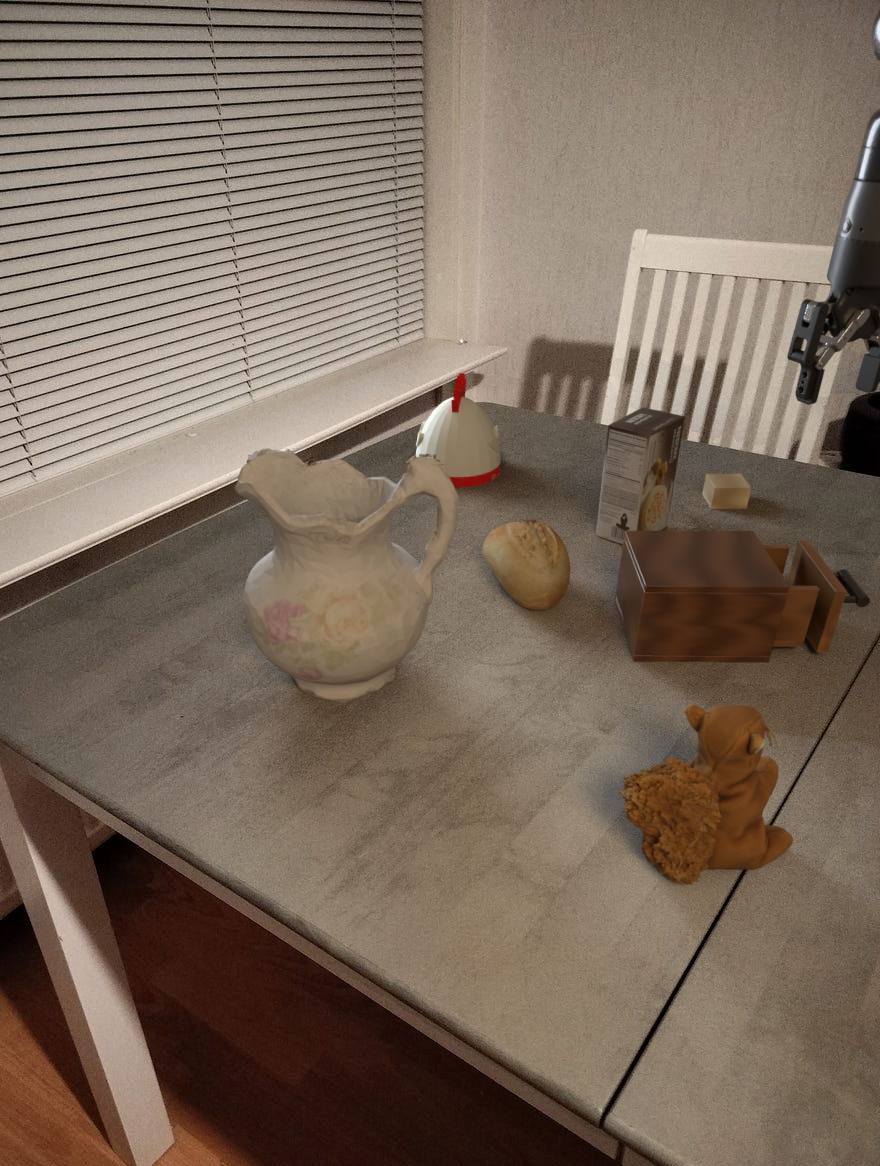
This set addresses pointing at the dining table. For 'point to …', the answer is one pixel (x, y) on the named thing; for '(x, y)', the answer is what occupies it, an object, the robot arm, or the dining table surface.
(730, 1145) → the dining table surface
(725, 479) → the block
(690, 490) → the dining table surface
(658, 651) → the cabinet
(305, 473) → the ceramic pitcher
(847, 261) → the robot arm
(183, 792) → the dining table surface
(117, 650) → the dining table surface
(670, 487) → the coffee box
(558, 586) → the bread roll
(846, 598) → the drawer
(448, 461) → the white chicken egg cooker
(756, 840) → the stuffed squirrel
